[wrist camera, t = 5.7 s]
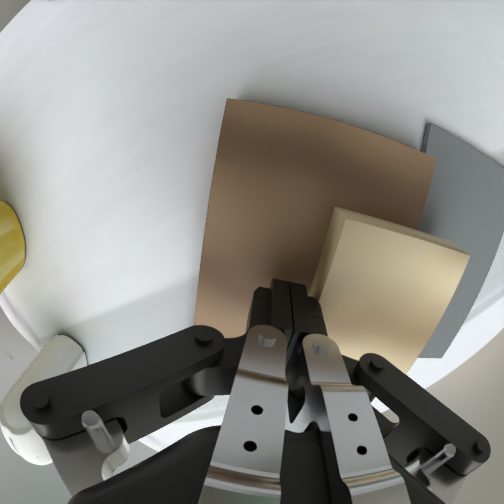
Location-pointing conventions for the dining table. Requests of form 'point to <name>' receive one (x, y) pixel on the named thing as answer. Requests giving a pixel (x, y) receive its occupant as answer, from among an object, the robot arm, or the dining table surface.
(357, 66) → the dining table surface
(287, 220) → the brown wooden block
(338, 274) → the cream flat block
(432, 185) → the mat
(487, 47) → the dining table surface
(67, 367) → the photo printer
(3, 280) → the plant pot
